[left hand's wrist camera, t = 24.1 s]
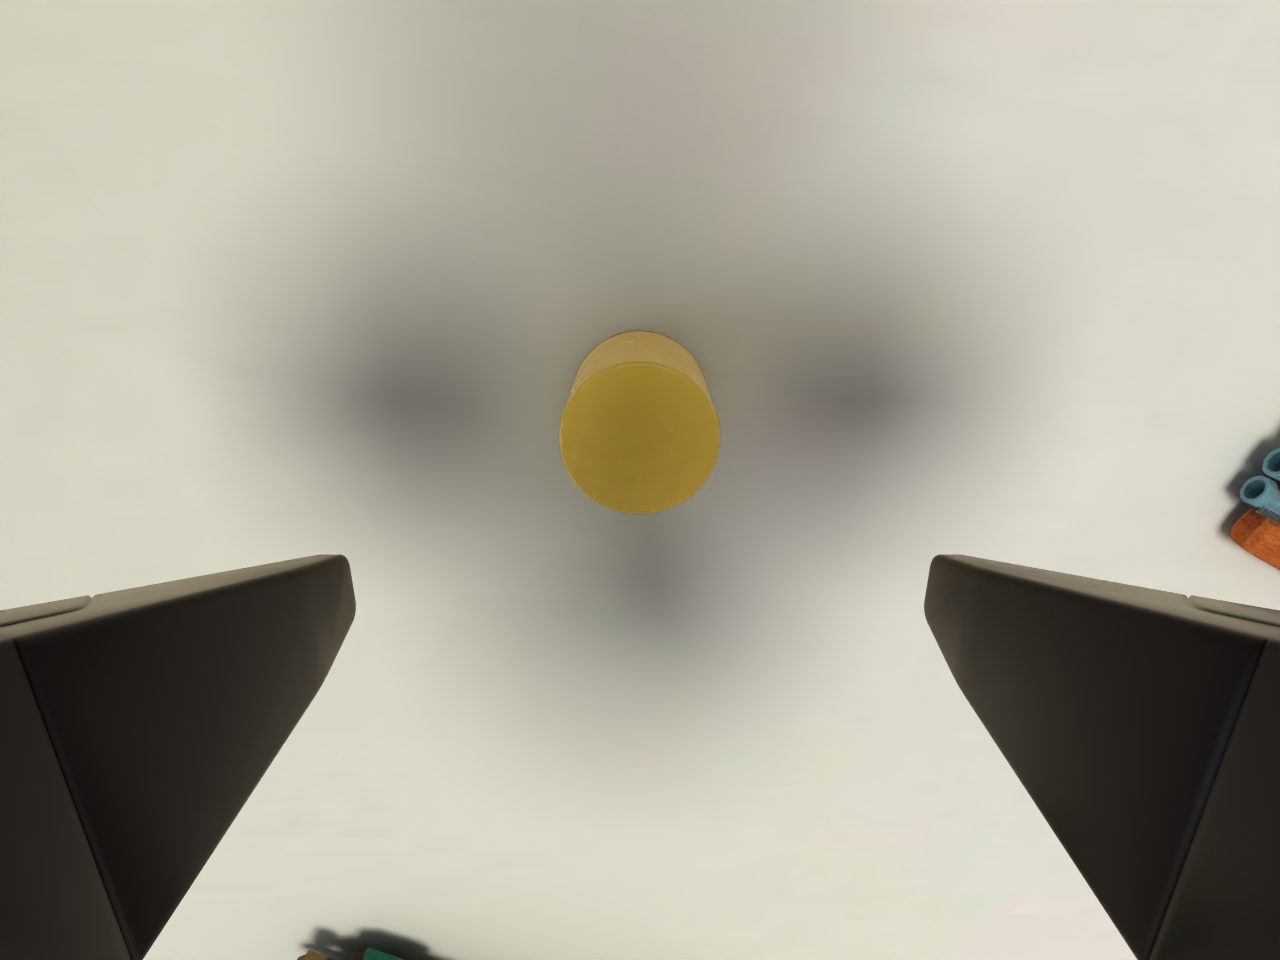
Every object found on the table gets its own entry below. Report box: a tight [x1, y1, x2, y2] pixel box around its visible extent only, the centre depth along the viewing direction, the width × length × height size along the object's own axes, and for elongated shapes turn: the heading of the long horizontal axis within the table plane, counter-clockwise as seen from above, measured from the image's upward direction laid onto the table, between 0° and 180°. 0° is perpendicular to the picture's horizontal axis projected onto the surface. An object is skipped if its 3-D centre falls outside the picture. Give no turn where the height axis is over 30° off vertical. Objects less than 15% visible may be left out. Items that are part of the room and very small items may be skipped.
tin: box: [559, 331, 720, 514], centre depth 20 cm, size 4×4×4 cm
